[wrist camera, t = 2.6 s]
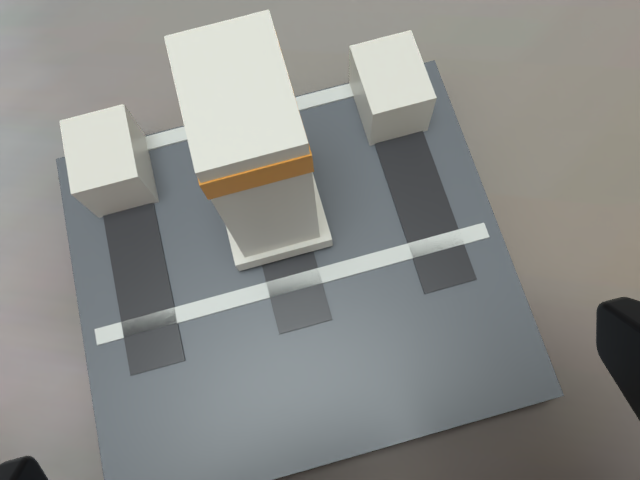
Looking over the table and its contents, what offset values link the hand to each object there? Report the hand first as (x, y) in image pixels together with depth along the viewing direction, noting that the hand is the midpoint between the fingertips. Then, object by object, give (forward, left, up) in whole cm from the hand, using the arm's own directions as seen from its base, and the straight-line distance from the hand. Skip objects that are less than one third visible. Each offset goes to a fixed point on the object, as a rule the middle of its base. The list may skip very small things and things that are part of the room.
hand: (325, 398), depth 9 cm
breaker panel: (+3, +5, -13) cm, 15 cm away
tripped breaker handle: (+4, +7, -12) cm, 14 cm away
